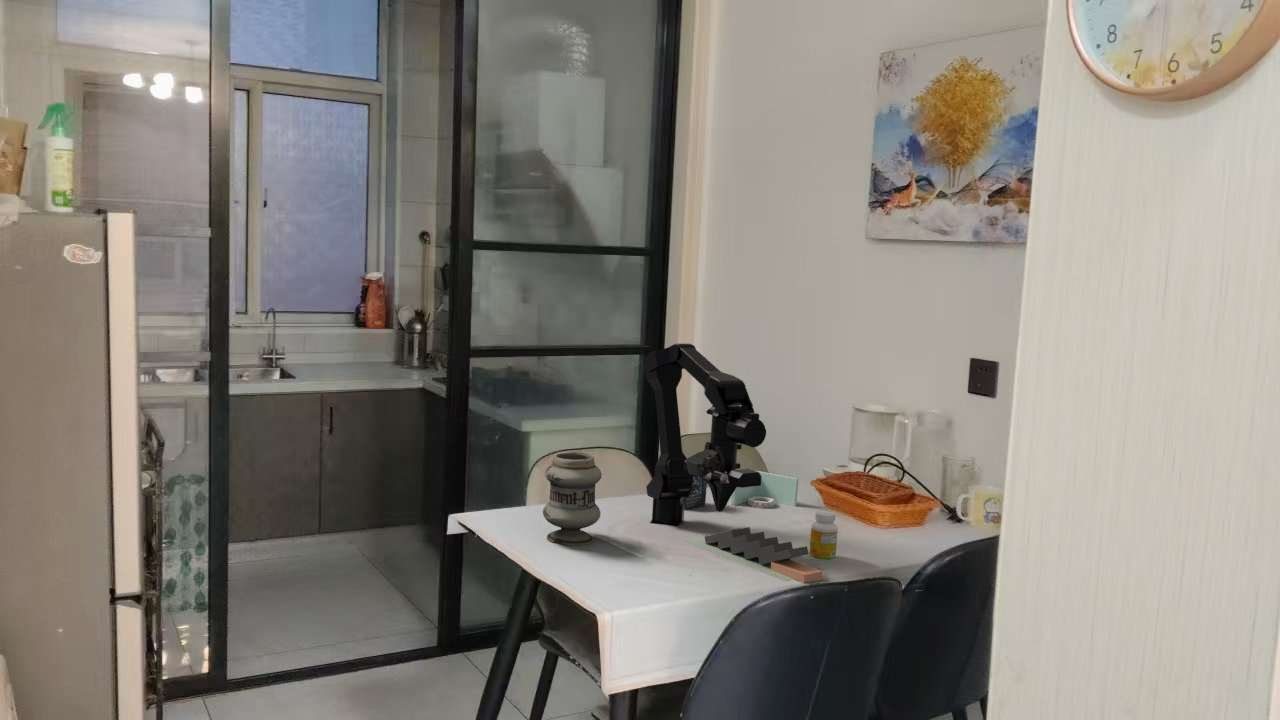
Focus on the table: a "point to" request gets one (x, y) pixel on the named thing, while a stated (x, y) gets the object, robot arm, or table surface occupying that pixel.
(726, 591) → the table surface
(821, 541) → the supplement bottle
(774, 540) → the domino
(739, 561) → the rack
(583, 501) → the apothecary jar
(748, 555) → the domino
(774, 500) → the right angle wall
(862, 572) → the table surface
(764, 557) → the domino
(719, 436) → the robot arm
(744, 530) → the domino
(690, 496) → the box
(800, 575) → the domino
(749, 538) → the domino
